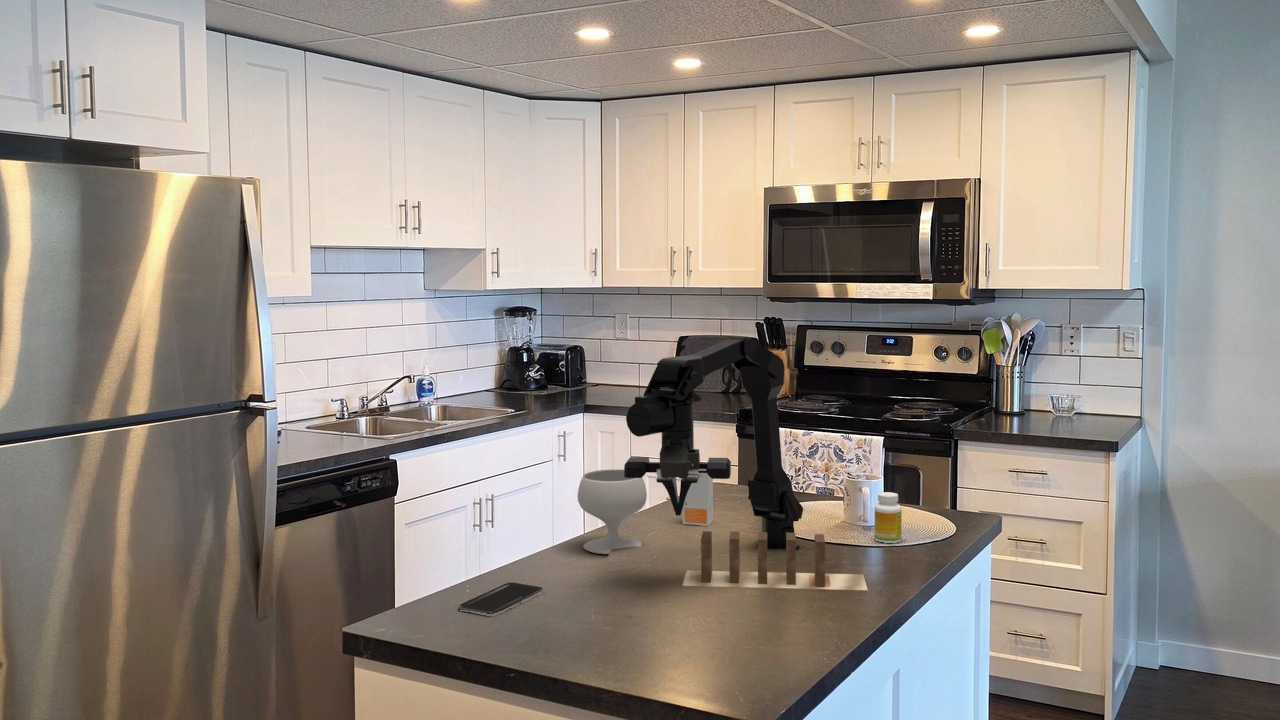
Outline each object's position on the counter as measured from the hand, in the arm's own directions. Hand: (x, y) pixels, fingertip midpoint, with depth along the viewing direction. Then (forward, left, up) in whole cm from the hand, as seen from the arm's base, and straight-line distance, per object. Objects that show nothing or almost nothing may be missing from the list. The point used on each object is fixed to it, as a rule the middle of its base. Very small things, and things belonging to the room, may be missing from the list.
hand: (678, 515), depth 189 cm
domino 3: (+9, +12, -12) cm, 19 cm away
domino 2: (+6, +8, -12) cm, 15 cm away
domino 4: (+12, +16, -12) cm, 23 cm away
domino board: (+10, +14, -12) cm, 21 cm away
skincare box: (-34, +26, -13) cm, 45 cm away
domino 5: (+16, +19, -12) cm, 28 cm away
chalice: (-27, +1, -13) cm, 30 cm away
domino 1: (+3, +4, -12) cm, 13 cm away
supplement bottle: (-1, +51, -13) cm, 53 cm away
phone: (-8, -31, -13) cm, 35 cm away
